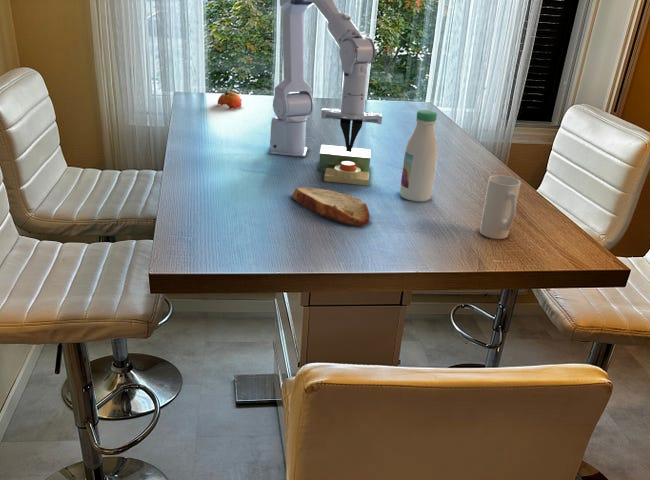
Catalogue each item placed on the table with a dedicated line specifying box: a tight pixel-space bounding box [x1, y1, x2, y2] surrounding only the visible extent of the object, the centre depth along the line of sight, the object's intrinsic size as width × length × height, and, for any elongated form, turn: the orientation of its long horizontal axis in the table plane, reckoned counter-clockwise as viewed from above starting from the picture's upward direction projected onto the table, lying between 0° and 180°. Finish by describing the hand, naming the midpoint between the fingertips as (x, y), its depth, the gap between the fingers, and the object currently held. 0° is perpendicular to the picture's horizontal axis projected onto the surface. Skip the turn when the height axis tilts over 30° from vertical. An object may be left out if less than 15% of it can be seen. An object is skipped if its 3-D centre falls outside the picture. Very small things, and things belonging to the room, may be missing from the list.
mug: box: [479, 174, 522, 240], centre depth 149 cm, size 10×7×12 cm, turn 15°
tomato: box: [217, 90, 243, 110], centre depth 228 cm, size 8×7×7 cm
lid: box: [319, 144, 372, 161], centre depth 181 cm, size 8×13×1 cm, turn 88°
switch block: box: [323, 165, 370, 186], centre depth 176 cm, size 11×7×3 cm, turn 88°
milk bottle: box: [399, 109, 439, 202], centre depth 165 cm, size 8×8×20 cm
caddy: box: [318, 154, 371, 173], centre depth 183 cm, size 7×13×4 cm, turn 88°
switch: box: [340, 161, 355, 171], centre depth 174 cm, size 4×4×2 cm
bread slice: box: [291, 187, 370, 227], centre depth 156 cm, size 18×18×4 cm
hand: (348, 150), depth 173 cm, fingers closed
